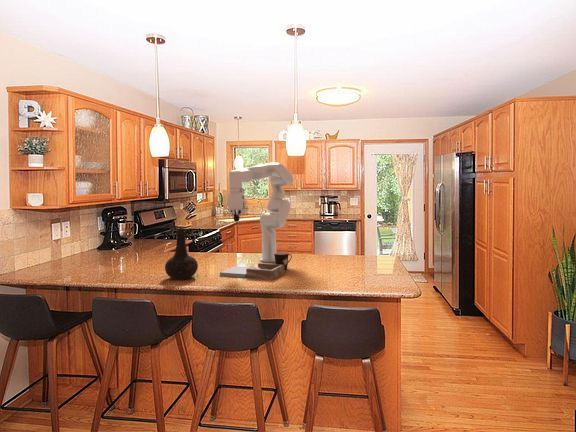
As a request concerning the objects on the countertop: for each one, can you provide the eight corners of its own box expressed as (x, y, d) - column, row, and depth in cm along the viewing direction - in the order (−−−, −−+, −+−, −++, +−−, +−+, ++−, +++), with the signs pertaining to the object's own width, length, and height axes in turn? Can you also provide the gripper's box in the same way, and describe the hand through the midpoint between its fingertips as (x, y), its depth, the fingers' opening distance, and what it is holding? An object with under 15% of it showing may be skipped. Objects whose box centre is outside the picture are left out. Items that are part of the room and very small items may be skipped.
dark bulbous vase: (162, 282, 244) (160, 230, 242) (168, 274, 262) (166, 226, 259) (196, 281, 246) (194, 230, 243) (200, 273, 263) (198, 226, 261)
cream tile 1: (252, 268, 263) (253, 265, 262) (260, 273, 261) (262, 270, 261) (247, 270, 257) (249, 267, 257) (256, 276, 256) (258, 272, 255)
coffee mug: (276, 271, 266) (276, 255, 265) (273, 268, 274) (272, 252, 273) (295, 270, 269) (295, 253, 268) (291, 267, 277) (291, 251, 276)
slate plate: (234, 269, 274) (234, 266, 274) (258, 271, 268) (258, 267, 268) (220, 275, 258) (219, 272, 257) (245, 277, 252) (245, 274, 252)
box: (259, 271, 268) (259, 262, 267) (284, 273, 262) (284, 264, 262) (246, 277, 252) (246, 268, 252) (272, 279, 246) (272, 270, 246)
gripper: (249, 190, 272) (250, 221, 274) (227, 190, 277) (228, 220, 279) (244, 191, 265) (244, 222, 267) (221, 191, 270) (222, 221, 272)
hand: (236, 221), depth 273 cm, fingers closed
